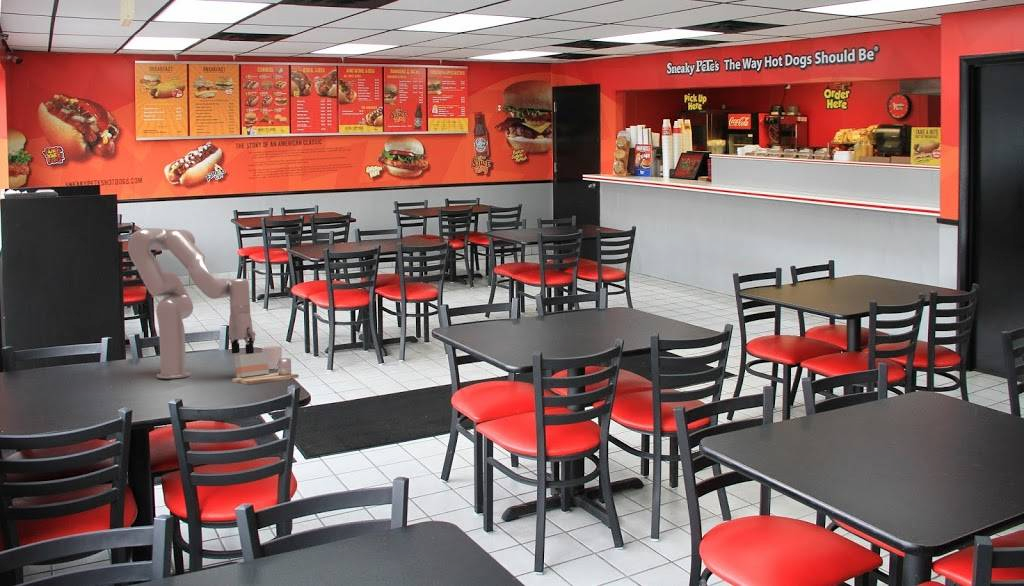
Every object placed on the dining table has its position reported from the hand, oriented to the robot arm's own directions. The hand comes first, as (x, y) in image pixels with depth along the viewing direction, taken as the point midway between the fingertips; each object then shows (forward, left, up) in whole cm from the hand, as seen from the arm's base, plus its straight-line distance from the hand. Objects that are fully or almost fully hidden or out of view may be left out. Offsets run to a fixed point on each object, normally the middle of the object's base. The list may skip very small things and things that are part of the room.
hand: (242, 353), depth 383 cm
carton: (+4, 0, -4) cm, 6 cm away
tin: (+14, +9, -8) cm, 19 cm away
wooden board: (+12, +2, -9) cm, 16 cm away
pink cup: (-6, +18, -10) cm, 21 cm away
